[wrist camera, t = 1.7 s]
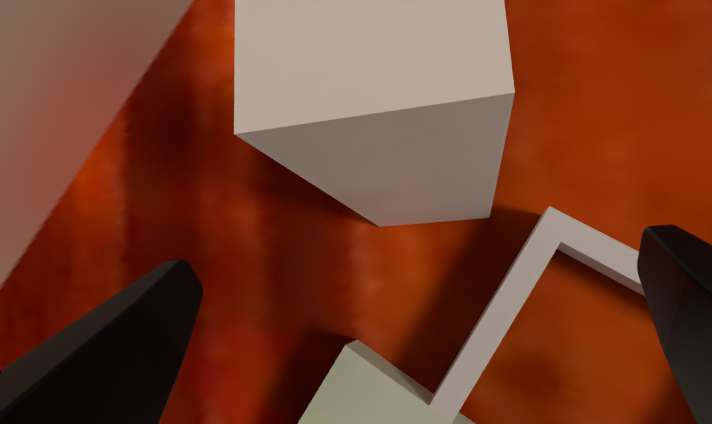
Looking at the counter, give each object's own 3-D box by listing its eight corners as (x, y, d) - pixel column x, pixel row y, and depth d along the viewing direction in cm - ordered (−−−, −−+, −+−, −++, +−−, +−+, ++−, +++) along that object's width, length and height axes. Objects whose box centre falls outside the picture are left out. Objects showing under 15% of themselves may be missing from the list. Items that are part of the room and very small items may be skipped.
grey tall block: (489, 217, 19) (514, 92, 7) (379, 226, 21) (234, 134, 8) (480, 132, 20) (489, -120, 8) (375, 145, 21) (235, -52, 9)
